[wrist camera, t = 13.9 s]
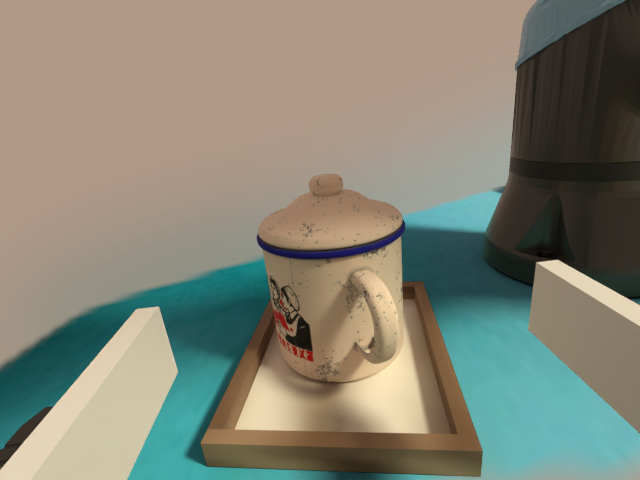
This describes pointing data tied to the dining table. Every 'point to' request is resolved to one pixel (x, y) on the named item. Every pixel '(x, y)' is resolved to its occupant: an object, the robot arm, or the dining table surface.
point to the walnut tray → (348, 409)
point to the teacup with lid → (335, 281)
